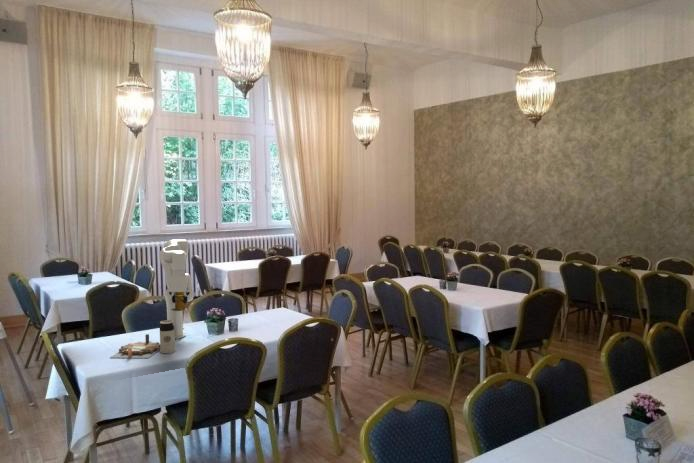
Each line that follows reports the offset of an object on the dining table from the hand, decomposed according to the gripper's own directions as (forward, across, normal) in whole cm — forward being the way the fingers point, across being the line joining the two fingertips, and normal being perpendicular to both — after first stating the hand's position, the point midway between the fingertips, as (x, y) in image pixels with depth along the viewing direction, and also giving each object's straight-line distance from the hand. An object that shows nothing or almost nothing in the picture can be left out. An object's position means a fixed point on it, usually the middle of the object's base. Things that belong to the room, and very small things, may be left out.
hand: (179, 302), depth 324 cm
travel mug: (+28, -5, -9) cm, 29 cm away
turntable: (+27, -22, -6) cm, 36 cm away
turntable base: (+27, -22, -8) cm, 36 cm away
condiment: (+5, -1, 0) cm, 5 cm away
